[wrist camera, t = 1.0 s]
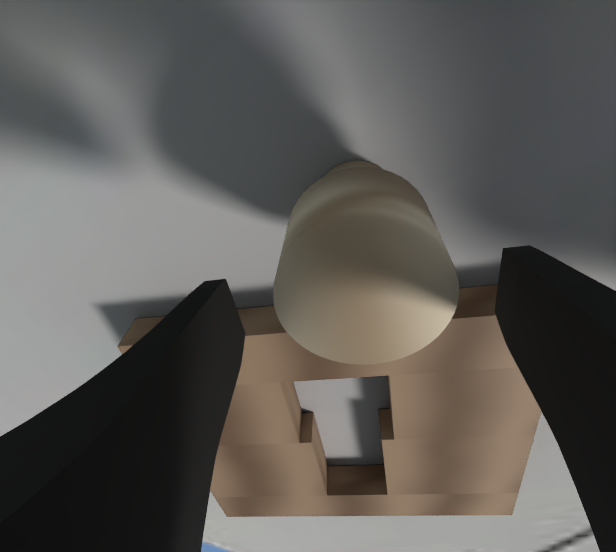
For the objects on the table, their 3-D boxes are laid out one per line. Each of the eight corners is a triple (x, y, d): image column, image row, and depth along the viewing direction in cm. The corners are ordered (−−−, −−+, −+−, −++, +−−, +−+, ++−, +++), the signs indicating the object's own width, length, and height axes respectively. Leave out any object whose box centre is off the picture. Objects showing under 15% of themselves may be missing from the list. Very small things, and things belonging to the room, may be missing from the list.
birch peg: (415, 128, 14) (464, 206, 8) (417, 244, 16) (455, 358, 11) (284, 149, 14) (252, 233, 9) (307, 256, 17) (292, 369, 12)
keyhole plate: (547, 280, 17) (570, 309, 15) (501, 484, 27) (511, 514, 25) (135, 318, 20) (117, 346, 18) (233, 488, 30) (226, 516, 28)
